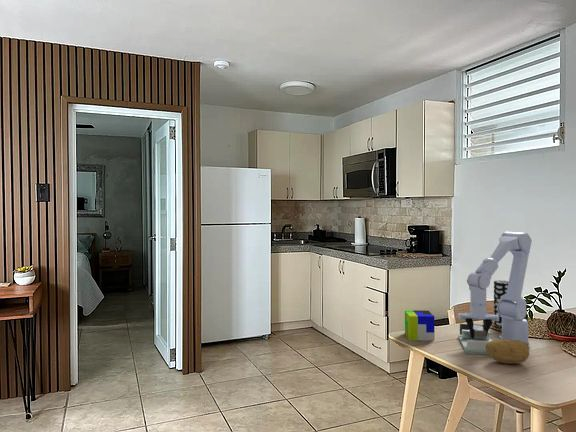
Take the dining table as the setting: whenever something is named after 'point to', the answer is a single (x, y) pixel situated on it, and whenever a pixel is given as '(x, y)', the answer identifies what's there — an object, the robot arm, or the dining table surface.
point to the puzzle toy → (419, 325)
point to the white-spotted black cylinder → (499, 291)
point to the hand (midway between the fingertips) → (478, 338)
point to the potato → (508, 351)
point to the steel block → (479, 333)
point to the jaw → (468, 331)
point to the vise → (474, 346)
